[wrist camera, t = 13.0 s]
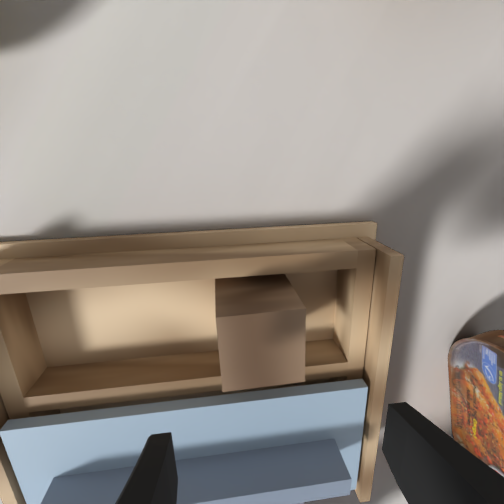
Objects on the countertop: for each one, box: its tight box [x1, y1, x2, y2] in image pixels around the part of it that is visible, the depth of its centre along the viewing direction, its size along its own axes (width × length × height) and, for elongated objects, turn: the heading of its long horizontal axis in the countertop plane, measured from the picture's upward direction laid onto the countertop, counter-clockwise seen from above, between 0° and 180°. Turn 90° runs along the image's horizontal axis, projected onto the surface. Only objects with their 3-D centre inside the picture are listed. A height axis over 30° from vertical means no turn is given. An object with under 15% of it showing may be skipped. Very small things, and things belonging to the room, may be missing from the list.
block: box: [215, 274, 306, 392], centre depth 16 cm, size 4×4×5 cm
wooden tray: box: [0, 221, 404, 504], centre depth 18 cm, size 19×23×4 cm
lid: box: [0, 379, 368, 504], centre depth 17 cm, size 8×20×3 cm, turn 92°
